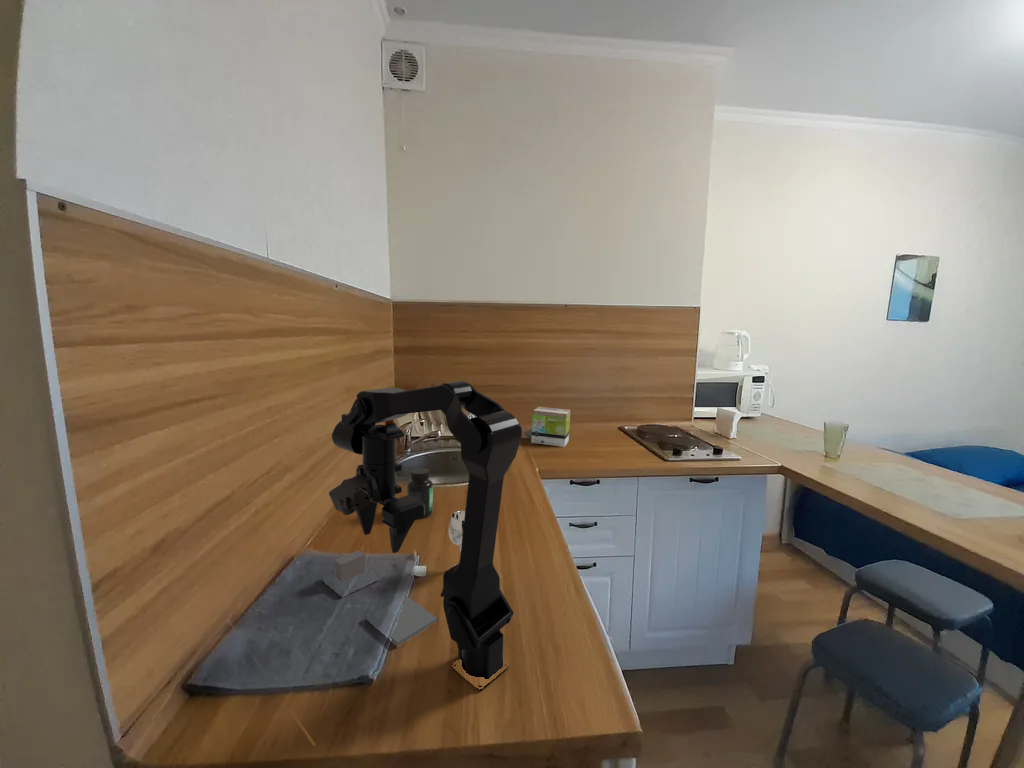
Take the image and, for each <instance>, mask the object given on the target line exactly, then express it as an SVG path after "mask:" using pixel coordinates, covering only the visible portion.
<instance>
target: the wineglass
mask: <svg viewBox="0 0 1024 768" xmlns="http://www.w3.org/2000/svg"><path fill="white" fill-rule="evenodd" d="M464 518H465V510H458V511H454V512H453V513H452V514H451V516H450V518H449V519H450V520H449V524H448V537H449V540H450V542H452V543H453V545H456V546H458V547H459V552H460V553H461V545H462V536H463V527H464ZM457 564H458V563H456V564H454V565H453V566H455V565H457Z"/></svg>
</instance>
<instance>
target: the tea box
mask: <svg viewBox="0 0 1024 768" xmlns="http://www.w3.org/2000/svg"><path fill="white" fill-rule="evenodd" d="M531 417H532V418H531V419H532V420H531V421H532V422H531V434H530V435H531V437H530V438H531V442H530V443H531V444H540V445H548V446H554V447H560V448H565V447H566V445H567V444H568V443H569V439H570V424H571V422H570V421H571V409H564V408H556V407H544V406H537V407H536V408H534V410H532V416H531Z"/></svg>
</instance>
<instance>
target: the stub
mask: <svg viewBox="0 0 1024 768" xmlns="http://www.w3.org/2000/svg"><path fill="white" fill-rule="evenodd" d="M365 566H366V555H365V554H364V553H363V552H361V551H360V550H356V551H354V552H351V553H349V554H345V555H343V556H341V557H338V558H336V559H334V571H335V576H336V577H337V578H338V579H339V580H340V581H341V582H343V581H345V580H347V579H349V578H352V577H354V576H357V575H359V574H362V573H365Z"/></svg>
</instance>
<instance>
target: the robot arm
mask: <svg viewBox="0 0 1024 768" xmlns="http://www.w3.org/2000/svg"><path fill="white" fill-rule="evenodd" d="M462 409H464V410H465V411H466V412H468V413H470V414H472V415H473V416H475V417H471V418H469V416H467V414H465V413H464V412H463V410H462ZM433 411H441V412H442V413H443V414H444V415H445V419H446V424H447V427H448V431H449V433H450V434H451V435H452V436H453V437H454V438H455V439H456V440H457V441H458V442H459V443H460V458H461V460H462V462H463V465H464V466H465V468H466V470H467V472H468V484H467V490H466V491H467V492H466V503H465V509H464V511H465V518H464V527H463V536H462V545H461V552H460V556H459V562H458V563H456V564H457V565H456V564H454V565H455V566H454V565H453V566H452V567H450V568H449V569H446V570H445V571H444V574H443V577H442V581H443V583H442V585H443V586H442V591H441V593H440V597H442V598H443V599H442V600H443V602H442V603H443V605H442V606H443V612H444V615H445V620H446V624H447V628H448V632H449V638H450V639H451V640H452V641H454V643H456V646H457V647H456V648H457V650H458V651H457V653H458V654H457V655H458V659H459V658H460V659H461V660H462V667H463V669H464V670H465V671H466V673H468V674H469V675H471V676H475V677H484V678H485V679H489V678H490V677H491V676H492V675H493V674H495V673H496V672H497V671H498V670H499V669H501V668H502V667H503V658H504V634H503V633H502V632H501V629H503V628H504V627H505V626H506V625H507V624H510V623H511V621H512V618H513V616H514V614H515V613H514V610H513V609H512V608H511V605H510V604H509V602H508V600H507V598H506V597H505V596H504V594H503V592H502V590H501V588H500V587H501V586H500V582H501V581H500V575H499V573H498V570H496V567H495V566H494V554H495V548H496V540H497V533H498V532H497V531H498V526H499V525H498V524H499V518H500V517H499V516H500V515H499V514H500V508H501V501H502V495H503V494H502V492H503V486H504V478H505V475H506V473H507V471H508V470H509V468H510V466H511V465H512V463H513V461H514V460H515V458H516V457H517V454H518V449H519V447H520V444H521V440H522V437H523V436H522V435H523V434H522V432H523V430H522V425H521V423H519V421H518V419H517V418H516V417H515V416H514V415H513V414H512V413H511V412H509V411H507V410H505V408H504V407H502V405H500V404H499V403H498V402H496V401H495V400H493V399H491V398H490V397H488V396H486V395H484V394H482V393H481V392H479V391H478V390H477V389H475V387H474V386H473V385H472V384H470V383H469V382H466V381H465V380H464V381H462V380H459V381H452V382H445V383H441V384H440V385H436V386H431V387H423V388H417V389H410V390H408V389H407V390H405V389H403V388H398V387H385V388H384V387H383V388H375V389H368V390H360V391H359V392H358V393H356V399H355V400H354V402H353V404H352V406H351V408H350V410H349V412H348V413H343V414H341V420H340V421H339V422H338V423H337V424H336V425H335V427H334V428H333V432H332V433H331V439H332V442H333V444H334V445H335V446H336V447H337V448H339V449H342V450H344V451H345V450H346V451H348V452H351V453H354V454H356V455H361V456H362V457H361V458H362V460H361V461H362V464H358V465H357V468H356V471H355V472H356V473H355V476H352V477H349V478H346V479H344V480H342V481H341V483H340V484H339V485H337V486H336V487H334V488H333V489H331V490H330V491H329V492H328V496H329V498H330V499H331V502H332V504H333V507H334V509H335V510H336V511H340V512H341V513H342V514H343V515H345V516H350V515H351V514H353V513H355V512H356V515H357V518H358V520H359V523H360V526H361V529H362V532H363V535H365V536H368V535H371V533H372V528H373V525H374V520H375V515H376V512H377V507H378V504H380V505H382V506H383V507H382V508H381V516H382V518H383V520H381V523H382V524H384V525H385V526H387V527H388V530H389V539H390V548H391V551H392V554H395V553H398V552H399V551H400V549H401V547H402V546H403V543H404V541H405V539H406V538H407V536H408V533H409V531H410V530H411V528H412V526H413V524H414V522H416V521H417V520H420V519H419V518H421V517H423V516H424V515H425V504H424V503H423V502H422V501H420V500H418V499H416V498H414V497H412V496H410V495H407V494H406V495H404V496H402V497H401V496H400V497H396V495H397V494H400V493H402V492H403V491H402V486H401V485H398V484H397V482H398V481H397V476H398V473H397V472H400V471H402V464H400V463H399V462H397V439H400V438H404V437H405V433H404V432H403V430H402V429H401V428H399V427H398V425H397V424H396V423H395V422H394V423H389V424H385V425H384V424H380V423H384V422H385V423H386V422H388V421H394V420H397V419H400V418H403V417H404V416H407V415H408V414H414V413H424V412H433Z"/></svg>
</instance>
